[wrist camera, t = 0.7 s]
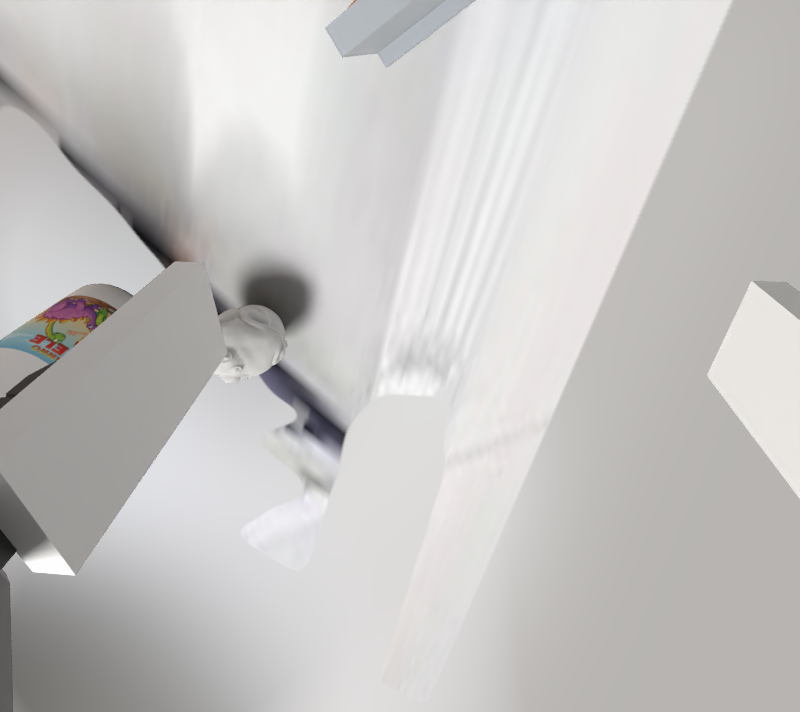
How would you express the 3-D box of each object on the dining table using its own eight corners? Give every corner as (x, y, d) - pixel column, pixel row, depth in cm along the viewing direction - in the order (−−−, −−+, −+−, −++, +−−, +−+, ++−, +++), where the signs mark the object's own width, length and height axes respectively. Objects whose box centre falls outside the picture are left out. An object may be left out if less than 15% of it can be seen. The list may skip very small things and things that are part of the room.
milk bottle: (136, 367, 46) (-42, 548, 29) (61, 316, 43) (-180, 484, 27) (173, 321, 43) (-5, 498, 26) (95, 263, 40) (-158, 418, 23)
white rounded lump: (210, 304, 41) (171, 346, 35) (277, 278, 39) (246, 319, 33) (248, 358, 44) (217, 405, 38) (311, 336, 42) (289, 383, 36)
